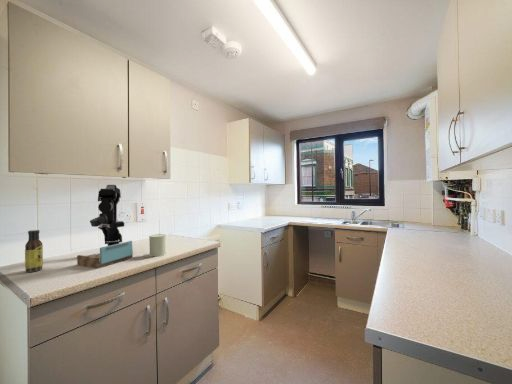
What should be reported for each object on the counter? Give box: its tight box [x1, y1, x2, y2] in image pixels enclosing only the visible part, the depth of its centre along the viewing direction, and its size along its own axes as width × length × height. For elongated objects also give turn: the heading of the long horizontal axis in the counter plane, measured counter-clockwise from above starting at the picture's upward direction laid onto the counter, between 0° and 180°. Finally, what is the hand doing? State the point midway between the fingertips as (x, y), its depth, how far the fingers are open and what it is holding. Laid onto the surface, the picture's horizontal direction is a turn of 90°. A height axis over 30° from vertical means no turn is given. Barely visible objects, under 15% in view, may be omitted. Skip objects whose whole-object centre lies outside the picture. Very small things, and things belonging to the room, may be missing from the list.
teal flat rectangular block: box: [99, 240, 133, 264], centre depth 123 cm, size 2×17×8 cm, turn 157°
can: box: [148, 233, 167, 257], centre depth 138 cm, size 9×9×12 cm
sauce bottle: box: [24, 229, 44, 273], centre depth 113 cm, size 6×6×20 cm
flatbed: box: [76, 249, 134, 269], centre depth 126 cm, size 16×20×5 cm
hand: (108, 239), depth 126 cm, fingers closed
